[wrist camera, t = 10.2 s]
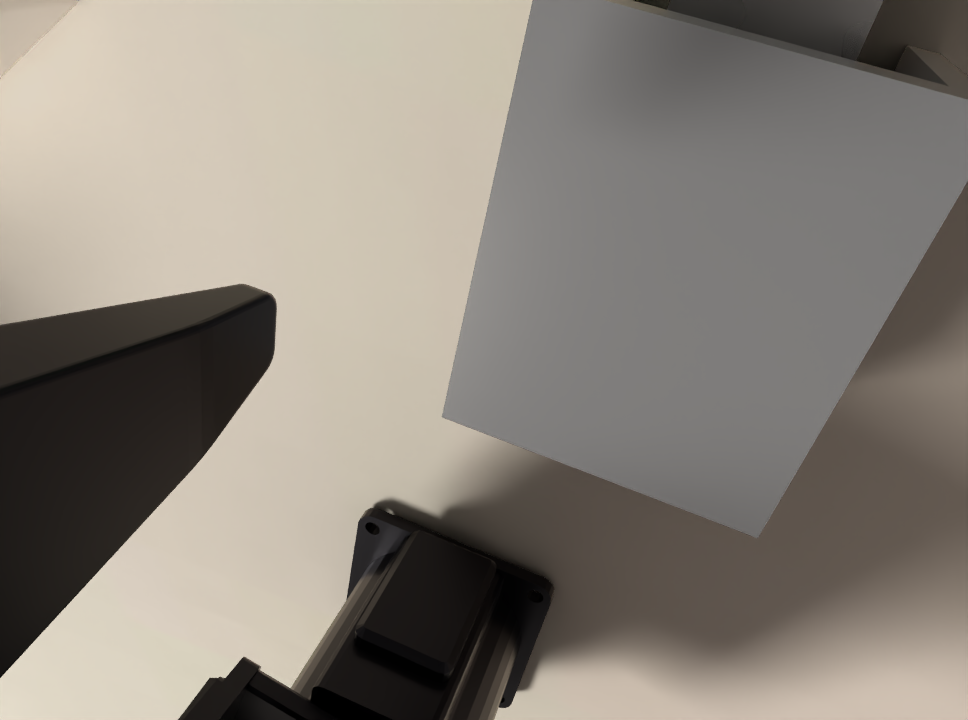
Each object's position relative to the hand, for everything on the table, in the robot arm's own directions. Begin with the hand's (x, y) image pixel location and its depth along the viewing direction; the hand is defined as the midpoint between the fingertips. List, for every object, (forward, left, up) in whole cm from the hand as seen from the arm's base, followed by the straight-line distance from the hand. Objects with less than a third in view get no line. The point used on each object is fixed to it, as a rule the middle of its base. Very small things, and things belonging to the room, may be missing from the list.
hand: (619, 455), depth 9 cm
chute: (0, 0, -10) cm, 10 cm away
